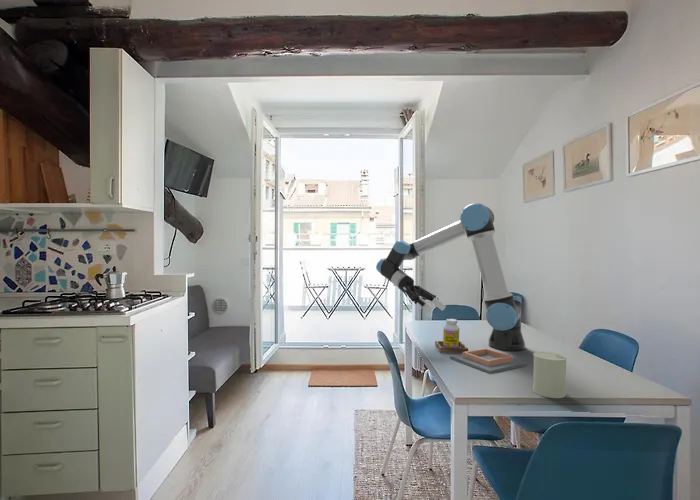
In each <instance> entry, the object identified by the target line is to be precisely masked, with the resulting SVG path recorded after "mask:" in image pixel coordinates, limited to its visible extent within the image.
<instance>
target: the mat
mask: <svg viewBox="0 0 700 500" xmlns="http://www.w3.org/2000/svg"><path fill="white" fill-rule="evenodd" d="M477 356H478V357H481V358H484V359H487V360H491V359H496V358H497V357H494V356H491V355H488V354H483V355H477ZM449 359H450V360H453V361H455V362H458V363H460V364H463V365H467V366H469V367H472V368H474V369H477V370H480V371H482V372H484V373H487V374H494V373H498V372H502V371H508V370H512V369H515V368H516V369H517V368H520V367H521V368H522V367H526V366H527V362H525V361H521V360H519V359H516V358H513V362H508V363H503V364H498V365H493V366H486V365H483V364H480V363H478V362H475V361H472V360H469V359H467V358H464V357H463V353H457V354H453V355H449Z"/></svg>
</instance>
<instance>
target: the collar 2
mask: <svg viewBox="0 0 700 500" xmlns="http://www.w3.org/2000/svg"><path fill="white" fill-rule="evenodd" d="M462 354H463V357H464V358H467V359H469V360H472V361H475V362H478V363H480V364H483V365H486V366H493V365H498V364H503V363H508V362H513V359H514V357H513V355H510V354H507V353H502V352H499V351H496V350H494V349H490V348H488V347H487V348H485V347H484V348H479V349H473V350H468V351H466V352H463V353H462ZM483 354H488V355H491V356H494V357H497V358H496V359H491V360H487V359H484V358H481V357H478V356H477V355H483Z"/></svg>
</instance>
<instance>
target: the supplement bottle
mask: <svg viewBox="0 0 700 500" xmlns="http://www.w3.org/2000/svg"><path fill="white" fill-rule="evenodd" d="M445 323H446V324H445V325H444V326H443V338H442V339H443V340H442V341H443V346H442V347H443V348H460V346H459V341H460V327H459V326H458V320H457V319H456V318H447V319H446V320H445Z"/></svg>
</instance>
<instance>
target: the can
mask: <svg viewBox="0 0 700 500" xmlns="http://www.w3.org/2000/svg"><path fill="white" fill-rule="evenodd" d="M566 375H567V357H566V356H565V355H564V354H560V353H556V352H552V351H536V352H534V353H533V382H532V385H533V386H532V391H533V392H534V393H535V394H536V395H539V396H541V397H545V398H549V399H550V398H551V399H564V398H565V397H566V395H567V393H566V379H567V377H566Z"/></svg>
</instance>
